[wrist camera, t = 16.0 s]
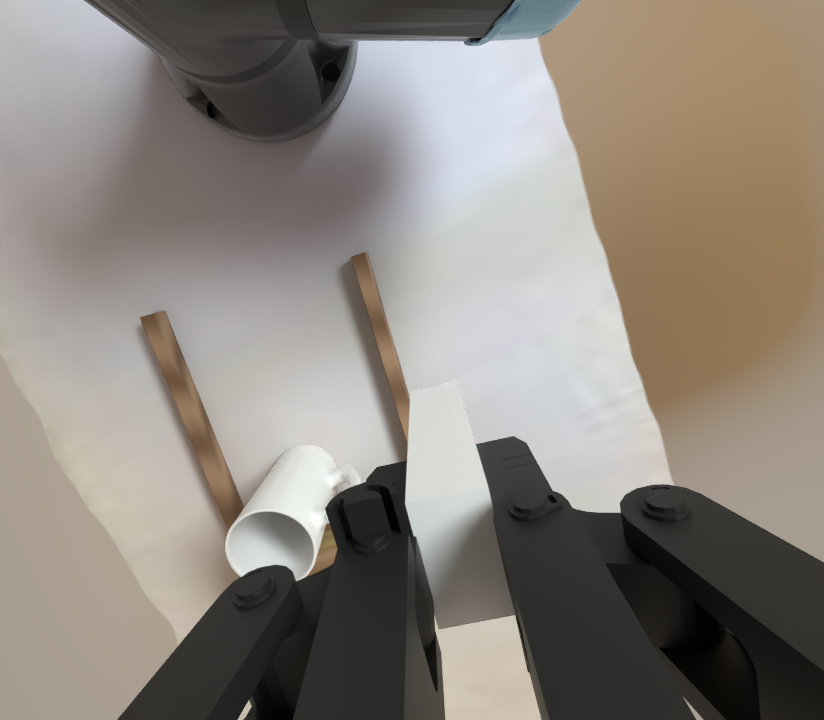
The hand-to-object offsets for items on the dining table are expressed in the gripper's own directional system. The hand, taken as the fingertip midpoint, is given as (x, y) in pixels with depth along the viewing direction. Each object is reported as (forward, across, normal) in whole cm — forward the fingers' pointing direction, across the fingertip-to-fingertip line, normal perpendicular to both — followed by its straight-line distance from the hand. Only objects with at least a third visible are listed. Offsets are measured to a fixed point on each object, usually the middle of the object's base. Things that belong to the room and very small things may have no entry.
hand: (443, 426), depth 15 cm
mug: (+28, -14, -13) cm, 34 cm away
